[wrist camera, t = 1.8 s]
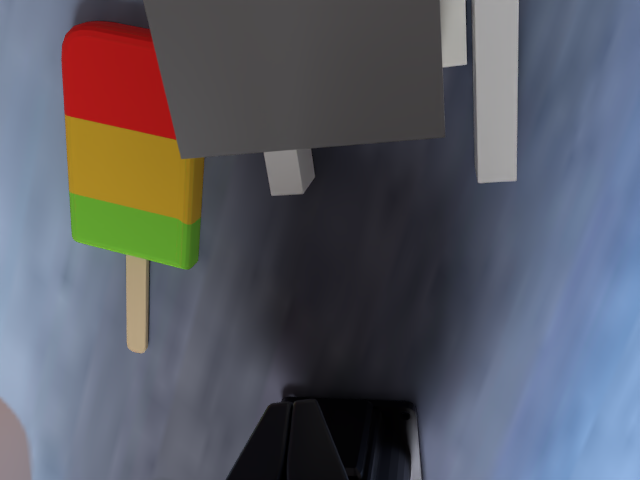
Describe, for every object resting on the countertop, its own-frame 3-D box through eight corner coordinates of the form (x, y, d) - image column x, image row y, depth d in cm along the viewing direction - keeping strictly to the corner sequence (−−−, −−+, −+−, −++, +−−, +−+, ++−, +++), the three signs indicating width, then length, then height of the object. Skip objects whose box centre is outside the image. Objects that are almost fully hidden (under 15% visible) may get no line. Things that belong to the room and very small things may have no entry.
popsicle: (217, 39, 20) (196, 43, 18) (197, 354, 27) (180, 378, 25) (84, 13, 21) (52, 15, 19) (97, 326, 27) (74, 348, 26)
